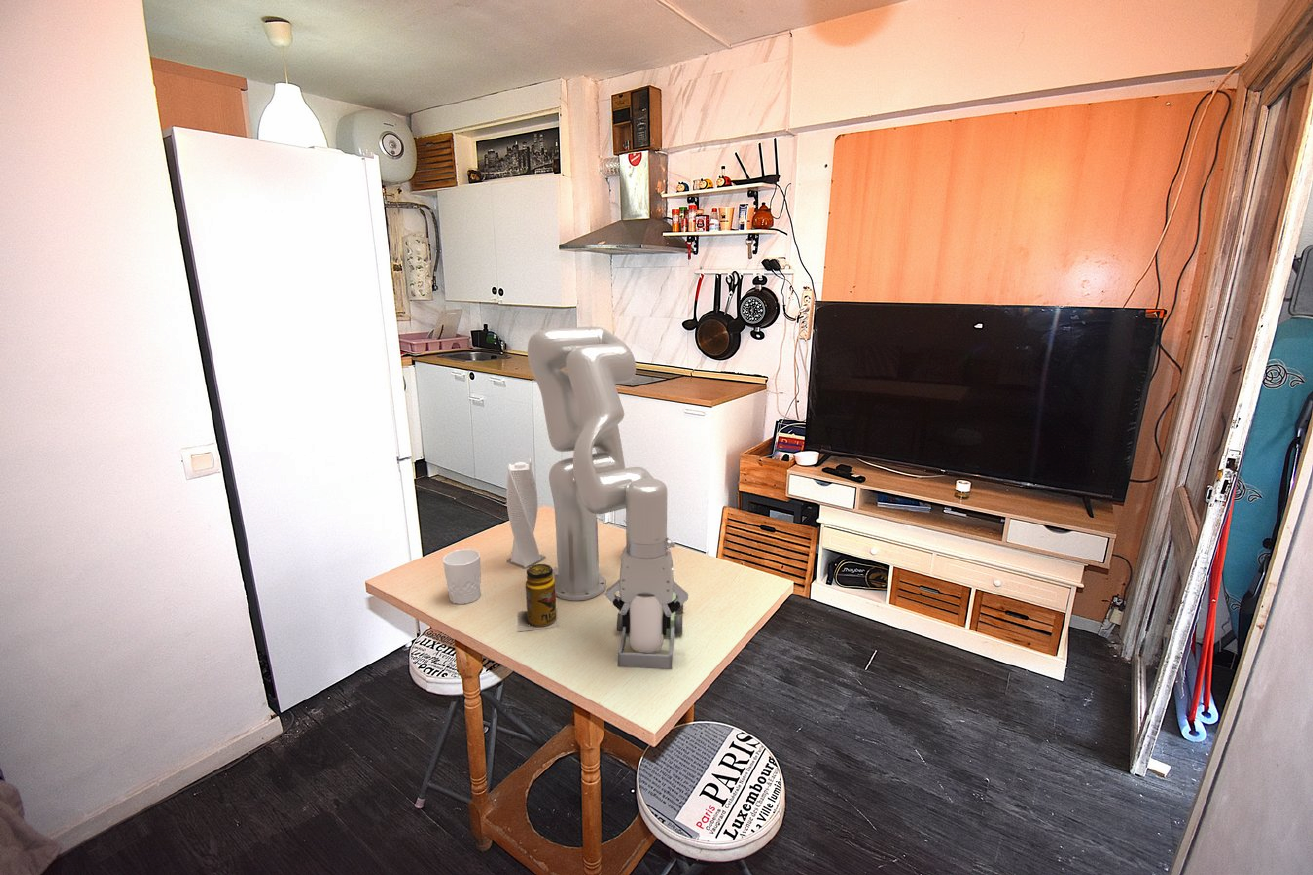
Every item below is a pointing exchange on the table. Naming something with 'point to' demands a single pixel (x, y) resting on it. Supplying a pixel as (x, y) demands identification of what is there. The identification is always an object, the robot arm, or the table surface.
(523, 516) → the skyscraper
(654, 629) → the can
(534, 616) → the condiment
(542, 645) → the table surface
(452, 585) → the white cup
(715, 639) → the table surface
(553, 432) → the robot arm
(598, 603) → the table surface
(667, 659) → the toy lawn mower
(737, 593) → the table surface
